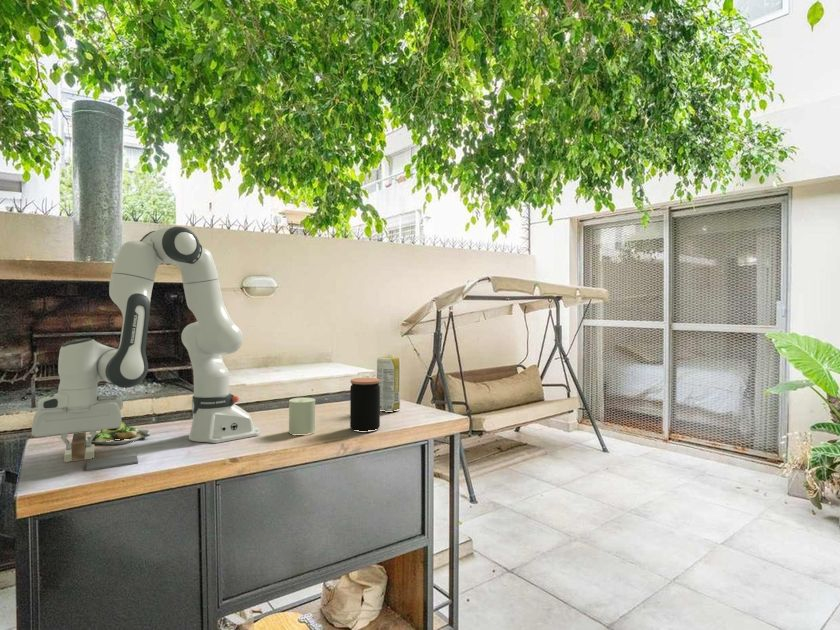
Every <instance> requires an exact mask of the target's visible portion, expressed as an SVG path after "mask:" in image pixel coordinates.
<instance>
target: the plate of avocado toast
mask: <svg viewBox="0 0 840 630" xmlns="http://www.w3.org/2000/svg"><path fill="white" fill-rule="evenodd" d="M99 431H100V432H96V435H95V437H94V438H93V440H92V441H91V444H94V445H95V444H120V445H124V444H123V443H127V444H130V443H129V442H131V443H134V442H137V441H140V440H143V439H145V438H148V437H151V434H150V430H149V429H139V428H136V427H134V426H130V425H129V426H127V424H126V423H125V422H123V421H122V424H121V426H120V427H119V428H114V429H105V430H99ZM90 437H91V435H90V434H89V435H86V440H89V438H90ZM142 438H143V439H142ZM115 439H120V440H123V441H111V442H106V441H110V440H115ZM124 439H129V440H124ZM139 439H140V440H139ZM136 440H137V441H136ZM133 441H134V442H133Z"/></svg>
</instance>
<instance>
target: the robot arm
mask: <svg viewBox="0 0 840 630" xmlns="http://www.w3.org/2000/svg"><path fill="white" fill-rule="evenodd" d="M213 257H214V256H213V255H212V253H211V251H210V250H209V249H207V248H205V247H203V246H202V244H201V243H200V240H199V238H198V236H197V235H196V233H194V232H193V231H192V230H191V229H189V228H187V227H185V226H184V227H183V226H172V227H171V226H169V227H162V228H159V229H157V230H151V231H149V232H147V233H145V235H144V236H143V237H141V239H140V240H130V241H126V242H124V243H123V244H122V245H121V247H120V249H119V251H118V254H117V256H116V259H115V260H114V264H113V267H112V271H111V274H110V278H109V286H108V291H109V297H110V299H111V301H112V302H113V303H114V304H115V305H116V306H117V307H118V308H119V310H120V312H121V314H122V326H121V332H120V338H119V339H120V340H119V345H118V347H117V348H116V347H111V346H109V345H105V344H102V343H101V342H99V341H97V340H95V339H94V338H90V337H88V338H87V337H85V338H77V339H76V338H75V339H72V340H69V341H66V342H65V343H63V344H62V345H61V346H60V349H59V355H58V363H57V367H58V370H57V372H58V373H57V374H58V376H59V385H58V388H57V389H58V392H57V393H54V394H53V393H52V394H51V395H47V396H44V397H42V398H40V399H39V400H38V402H37V408H38V409H37V411H35V413H34V416H33V419H32V423H31V425H32V426H31V435H32V436H33V437H34V438H39V437H40V438H41V437H48V436H57V435H58V436H59V435H60V439H61V441H62V442H64V444H65V450H71V444H72V441H69V440H68V436H69V434H74V433H82V432H86V433H87V432H89V435H91V437H90V438H89V440H85V448H87V447H91V441H92V440H93V438H94V437H95V435H96V433H97V431H101V430H105V429H114V428H119V427H120V426H121V424H122V422H123V421H122V413H121V410H122V409H123V408H124V407H123V406H124V404H123V403H124V401H123V399H122V397H121V396H117V395H116V394H113V395H101V396H99V395H98V394H99V393H98V392H99V391H98V387H99V386H98V384H99V383H100V382H107V383H110V384H112V385H114V386H117V387H118V388H123V389H124V388H125V389H127V388H132V387H133V388H134V387H135V386H137V385H139V384H141V382H143V380H145V378H146V376H147V374H148V372H149V362H148V356H147V352H146V347H147V339H148V332H149V325H150V324H149V323H150V313H151V300H152V299H151V298H152V291H153V287H154V282H155V278H156V272H157V270H158V268H159V266H160V265H163V264H164V265H171V264H175V265H176V266H177V267H178V269H179V271H180V274H181V279H182V286H183V290H184V296H185V301H186V305H187V308H188V309H189V311H190V312H191V313H193V315H194V317H195V319H196V321H195V322H191V323H189V324H188V325H185V327H184V328H183V330H182V332H181V335H180V337H181V343H182V344H183V346H184V347H185V349H186V350H187V352H188V356H189V360H190V363H191V367H192V373H193V374H192V375H193V395H192V400H191V411H192V421H191V428H190V432H189V436H188V440H189V441H191V442H192V441H193V442H199V443H201V442H203V443H211V444H218V443H222V442H223V443H224V442H229V441H234V440H241V439H245V438H251V437H257V436H259V435H260V428H259V427H258V426H255V425H254V422H253V419H252V418H253V417H252V416H251V414H250V413H249V412H247V410H244V409H243V408H242V407H240V406H239V405H237V404H235V403H238V402H239V401H240V399H239V396H237V395H234V394H232V393H230V371H229V369H228V367H227V366H226V364H225V363H224V360H223V356H225V355H230V354H233V353H235V352H237V351H239V349H240V348H241V347H242V345H243V340H244V335H243V332H242V330H241V329H240V328H239V326H238V325H236V324H235V322H234V321H233V319H232V317H231V315H230V313H229V312H228V310H227V308H226V304H225V302H224V298H223V293H222V288H221V283H220V279H219V272H218V270H217V265H216V263H215V259H214V258H213Z"/></svg>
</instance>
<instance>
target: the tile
mask: <svg viewBox="0 0 840 630" xmlns="http://www.w3.org/2000/svg"><path fill="white" fill-rule="evenodd" d="M63 456H64V459H63V461H64V462H63V463H68V462H69V463H70V461H71V462H73V461H72V451H71V450H66V449H65V451H64V455H63ZM92 458H93V459H95V444H91V447H87V448H86V451H85V459H84V460H83V461H85V460H91V459H92ZM77 461H79V460H77Z"/></svg>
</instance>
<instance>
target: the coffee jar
mask: <svg viewBox="0 0 840 630" xmlns="http://www.w3.org/2000/svg"><path fill="white" fill-rule="evenodd" d="M379 382H380V379H377V377H356V378H351V379H350V383H351V385H350V388H349V390H350V392H349V393H350V397H349V398H350V400H349V401H350V402H349V403H350V406H349V408H350V411H349V413H350V417H349V418H350V420H349V422H350V425H349V427H350V429H351V430H352V429H353V430H359V431H368V430H375V429H378V430H379V428H380V426H381V425H380V424H381V421H380V420H381V418H380V417H381V411H380V386H379ZM353 430H352V431H353Z"/></svg>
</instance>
